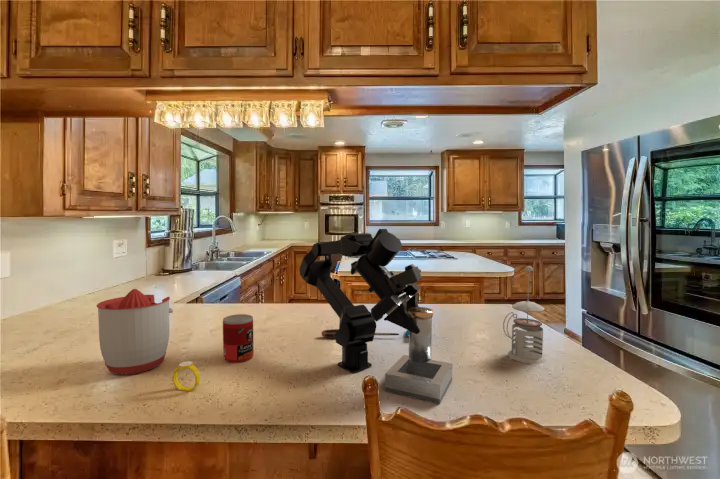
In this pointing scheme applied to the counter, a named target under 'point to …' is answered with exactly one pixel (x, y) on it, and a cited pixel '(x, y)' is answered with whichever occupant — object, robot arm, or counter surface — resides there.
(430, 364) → the collar
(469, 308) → the counter surface
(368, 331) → the robot arm
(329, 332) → the screwdriver
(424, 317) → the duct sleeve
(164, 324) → the citrus juicer
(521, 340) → the french press
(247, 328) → the canned food
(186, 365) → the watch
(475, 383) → the counter surface
